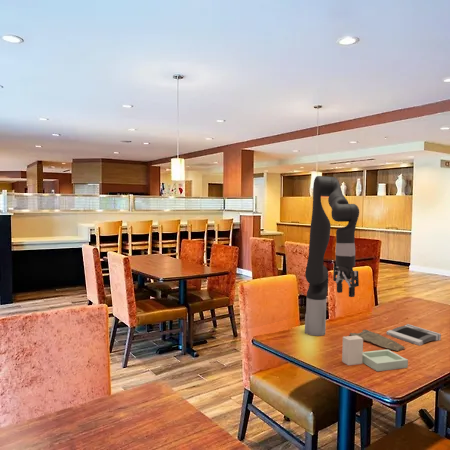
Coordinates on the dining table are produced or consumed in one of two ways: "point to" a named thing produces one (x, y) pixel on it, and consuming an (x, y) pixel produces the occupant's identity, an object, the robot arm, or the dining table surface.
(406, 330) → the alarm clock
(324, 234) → the robot arm
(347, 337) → the gray block
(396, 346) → the stone tool
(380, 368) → the pale green tray
